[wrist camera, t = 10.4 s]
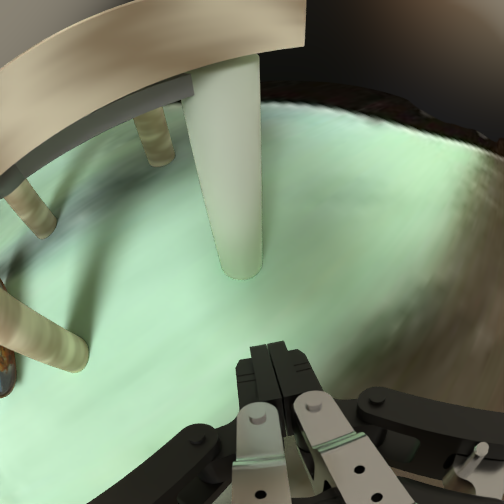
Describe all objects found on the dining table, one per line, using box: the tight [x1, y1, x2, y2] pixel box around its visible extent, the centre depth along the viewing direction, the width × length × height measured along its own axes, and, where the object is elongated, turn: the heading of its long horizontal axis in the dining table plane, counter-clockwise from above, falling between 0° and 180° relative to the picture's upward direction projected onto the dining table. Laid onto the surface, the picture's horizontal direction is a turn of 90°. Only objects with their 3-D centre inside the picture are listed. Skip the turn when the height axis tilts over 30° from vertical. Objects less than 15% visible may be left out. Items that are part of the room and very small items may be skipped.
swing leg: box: [0, 54, 262, 280], centre depth 16 cm, size 13×4×17 cm, turn 119°
